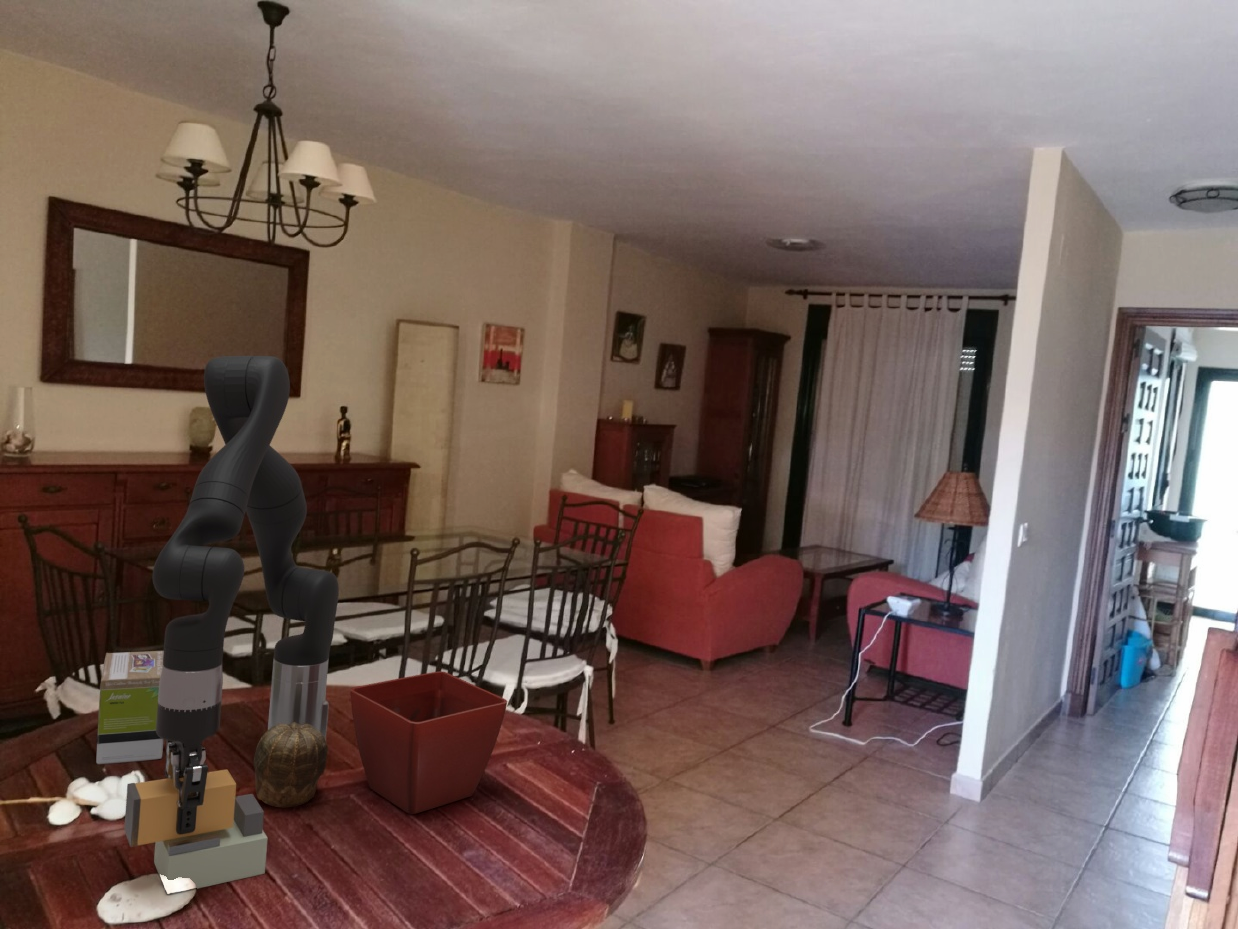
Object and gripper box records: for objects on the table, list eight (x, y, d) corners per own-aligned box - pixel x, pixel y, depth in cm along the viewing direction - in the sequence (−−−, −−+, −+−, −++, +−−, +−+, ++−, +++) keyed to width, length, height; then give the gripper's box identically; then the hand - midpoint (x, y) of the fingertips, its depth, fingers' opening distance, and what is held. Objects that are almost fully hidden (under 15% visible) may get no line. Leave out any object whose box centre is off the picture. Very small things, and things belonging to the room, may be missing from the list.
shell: (254, 818, 135) (260, 741, 134) (247, 787, 145) (253, 715, 144) (328, 810, 140) (335, 735, 139) (317, 780, 150) (323, 711, 149)
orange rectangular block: (223, 811, 124) (227, 768, 123) (232, 827, 120) (236, 783, 119) (124, 829, 116) (127, 783, 116) (130, 847, 112) (133, 800, 112)
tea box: (99, 731, 160) (105, 650, 159) (162, 727, 165) (168, 648, 164) (94, 766, 147) (100, 678, 146) (162, 760, 151) (169, 675, 150)
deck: (247, 843, 128) (251, 789, 127) (264, 873, 121) (269, 816, 120) (154, 862, 121) (158, 804, 120) (166, 895, 114) (171, 834, 113)
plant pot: (338, 785, 149) (347, 686, 148) (433, 759, 163) (442, 669, 162) (403, 831, 136) (413, 723, 135) (500, 799, 150) (510, 701, 149)
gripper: (234, 712, 113) (224, 842, 114) (208, 677, 125) (199, 795, 126) (169, 720, 109) (159, 855, 110) (148, 683, 120) (140, 805, 121)
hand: (181, 822), depth 118 cm, fingers closed on orange rectangular block, 5 cm apart
